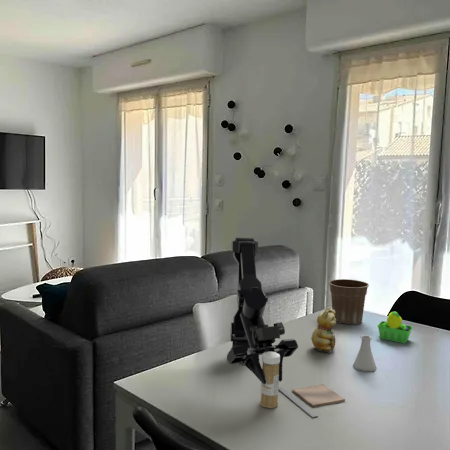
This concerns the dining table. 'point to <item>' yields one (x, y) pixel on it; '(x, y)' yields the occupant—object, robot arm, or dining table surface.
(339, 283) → the plant pot
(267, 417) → the dining table surface
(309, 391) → the board
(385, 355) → the dining table surface
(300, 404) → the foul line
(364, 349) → the flask
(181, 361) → the dining table surface
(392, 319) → the fruit basket
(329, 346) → the decorative figurine
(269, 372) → the sprinkles bottle
